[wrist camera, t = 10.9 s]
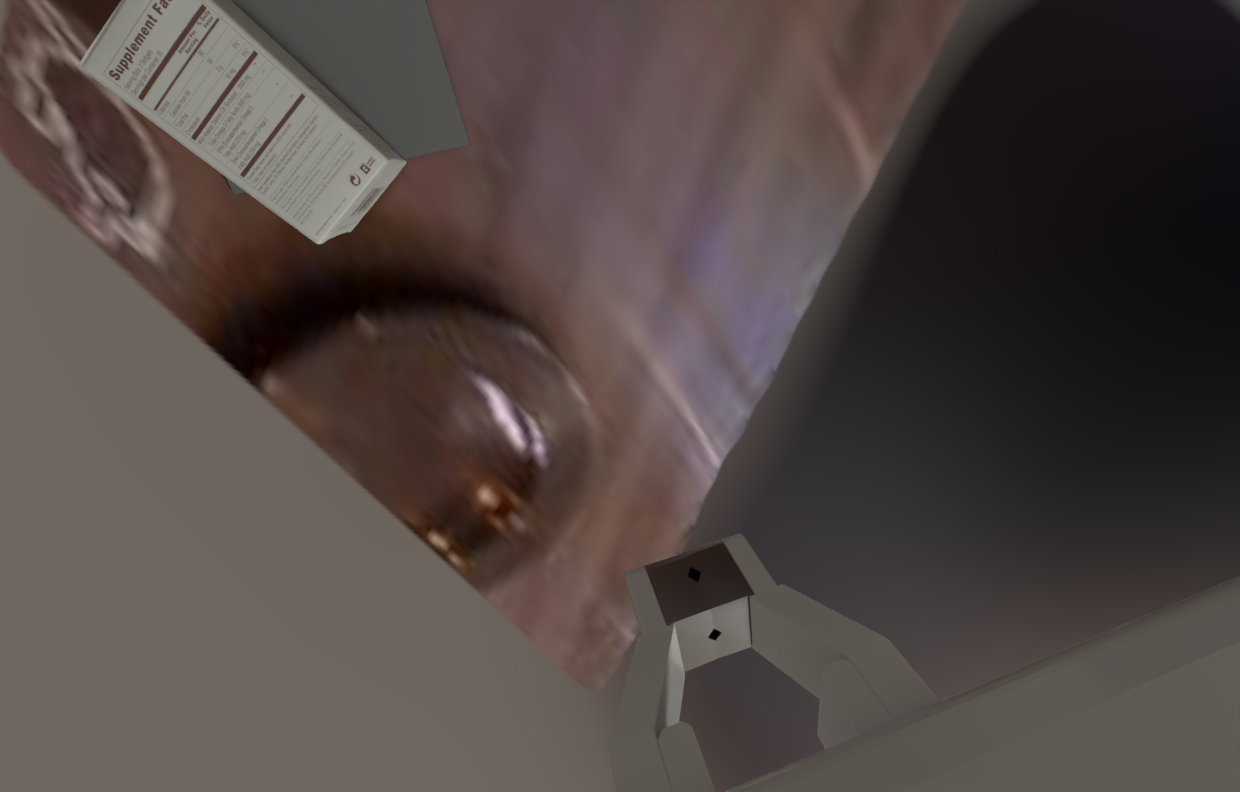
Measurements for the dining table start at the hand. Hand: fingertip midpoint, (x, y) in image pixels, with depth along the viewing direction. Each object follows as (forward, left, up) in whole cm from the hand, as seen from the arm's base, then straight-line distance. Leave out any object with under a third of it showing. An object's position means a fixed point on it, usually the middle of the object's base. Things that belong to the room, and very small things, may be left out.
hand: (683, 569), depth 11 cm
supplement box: (+11, -9, -30) cm, 33 cm away
